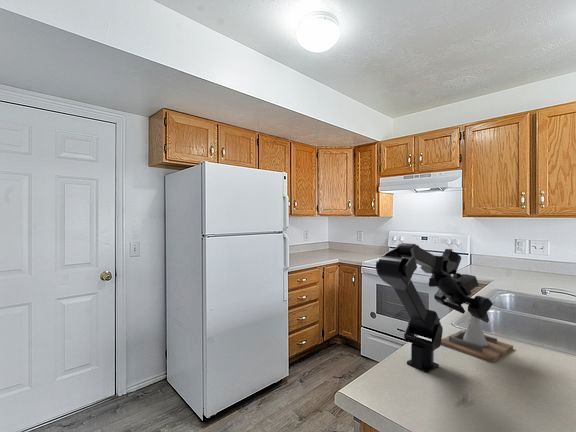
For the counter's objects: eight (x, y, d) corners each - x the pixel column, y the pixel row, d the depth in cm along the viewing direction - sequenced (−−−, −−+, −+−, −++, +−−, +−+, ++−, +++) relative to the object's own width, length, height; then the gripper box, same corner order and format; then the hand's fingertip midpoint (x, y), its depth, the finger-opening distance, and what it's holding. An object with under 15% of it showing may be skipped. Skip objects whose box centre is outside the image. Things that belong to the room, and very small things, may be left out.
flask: (492, 348, 96) (492, 316, 96) (468, 346, 97) (468, 315, 97) (481, 339, 103) (481, 309, 103) (459, 337, 104) (458, 309, 104)
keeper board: (491, 362, 89) (491, 353, 89) (438, 344, 102) (438, 336, 102) (513, 349, 98) (513, 340, 98) (461, 333, 111) (461, 326, 111)
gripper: (487, 272, 90) (516, 306, 93) (441, 262, 108) (466, 291, 111) (466, 300, 88) (496, 334, 91) (422, 286, 106) (448, 315, 109)
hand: (475, 316), depth 100 cm, fingers open, 9 cm apart
